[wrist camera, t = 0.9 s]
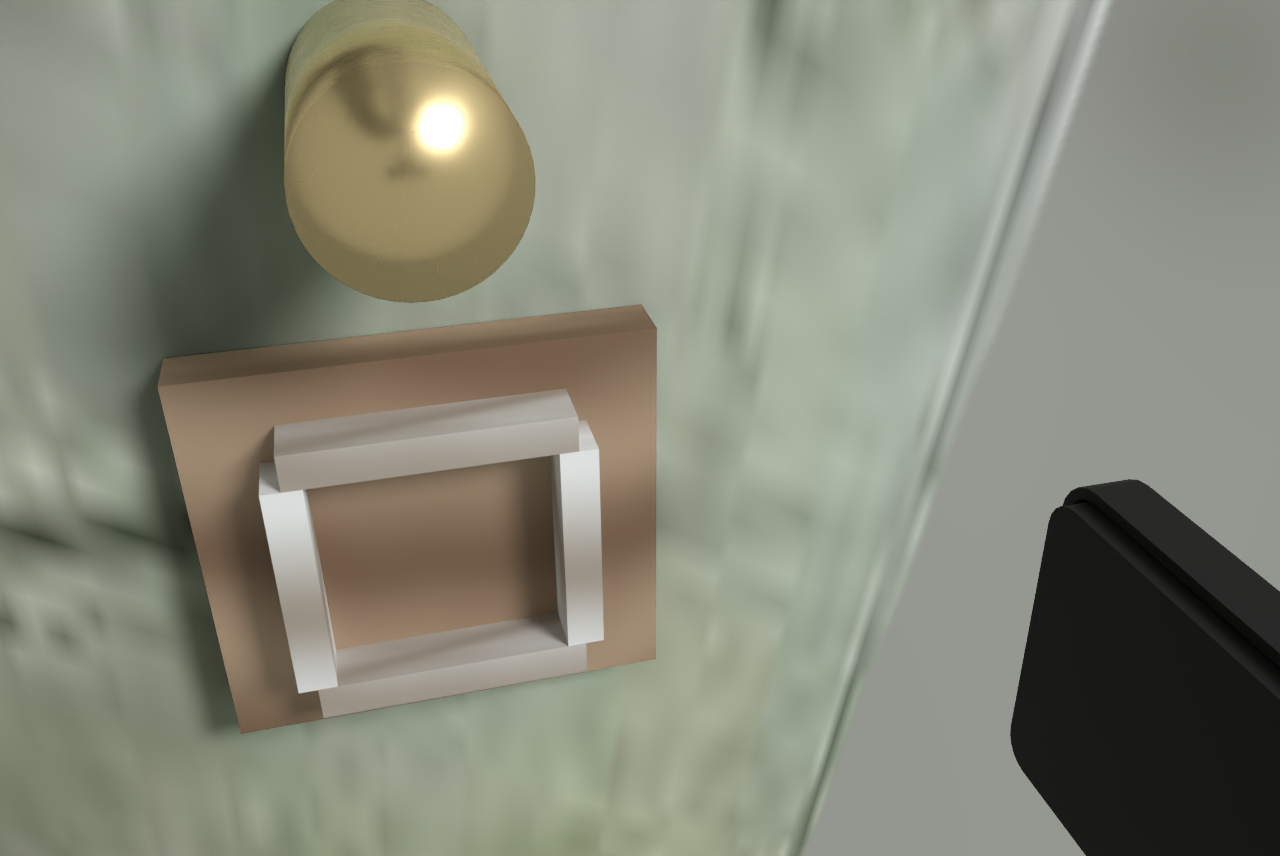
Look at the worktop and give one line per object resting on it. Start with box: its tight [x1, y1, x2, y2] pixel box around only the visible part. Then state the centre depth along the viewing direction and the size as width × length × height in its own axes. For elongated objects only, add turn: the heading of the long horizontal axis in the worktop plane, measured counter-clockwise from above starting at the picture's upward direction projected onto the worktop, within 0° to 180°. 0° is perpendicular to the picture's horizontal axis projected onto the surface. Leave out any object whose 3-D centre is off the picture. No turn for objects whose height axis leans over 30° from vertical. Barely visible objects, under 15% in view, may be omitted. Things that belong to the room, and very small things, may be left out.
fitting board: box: [157, 305, 657, 734], centre depth 31 cm, size 11×12×3 cm
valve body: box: [284, 0, 535, 303], centre depth 24 cm, size 4×4×7 cm
